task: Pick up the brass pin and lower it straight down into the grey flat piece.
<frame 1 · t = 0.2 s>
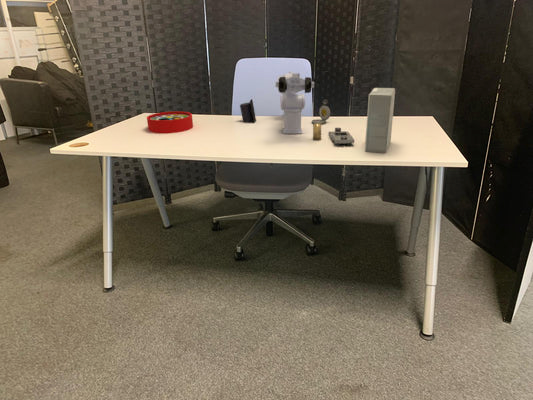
hand: (296, 87, 141), 21 cm above the table, tool horizontal, fingers open, 7 cm apart
hard drive box: (377, 147, 144), on the table
speaker: (248, 122, 188), on the table
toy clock: (171, 129, 179), on the table
grey flat piece: (340, 140, 153), on the table
brass pin: (316, 139, 155), on the table
pocket watch: (320, 123, 182), on the table
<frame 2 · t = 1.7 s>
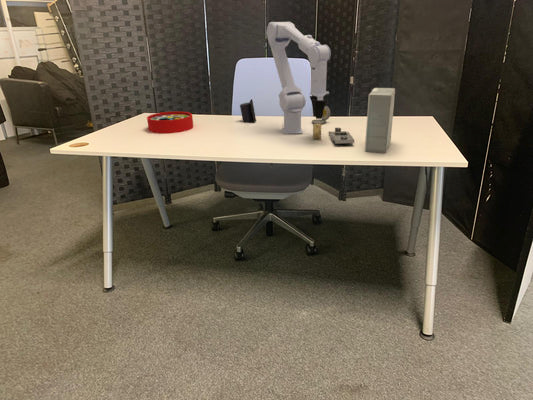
hand: (317, 116, 152), 9 cm above the table, tool pointing down, fingers open, 7 cm apart
nothing on the table moved.
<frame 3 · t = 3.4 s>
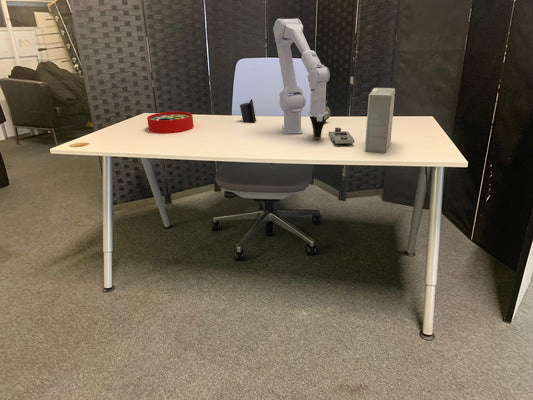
hand: (317, 135, 155), 1 cm above the table, tool pointing down, fingers closed on brass pin, 3 cm apart
brass pin: (316, 139, 155), on the table, touching gripper
everything else where it was.
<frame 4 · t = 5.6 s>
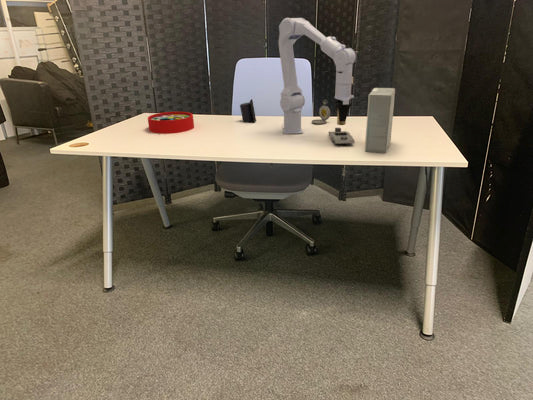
hand: (341, 120, 150), 8 cm above the table, tool pointing down, fingers closed on brass pin, 3 cm apart
brass pin: (341, 124, 151), point 6 cm above the table, touching gripper
everything else where it was.
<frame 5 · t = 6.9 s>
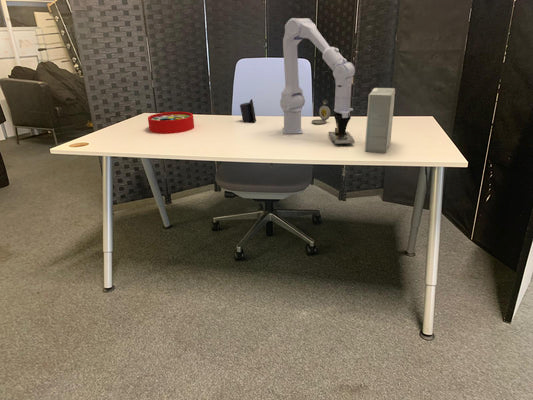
hand: (340, 132, 152), 3 cm above the table, tool pointing down, fingers closed on brass pin, 3 cm apart
brass pin: (340, 136, 153), point 1 cm above the table, touching gripper
everything else where it was.
when the fingers open (3 cm above the table, at t = 7.6 s): brass pin drops 1 cm, resting in grey flat piece.
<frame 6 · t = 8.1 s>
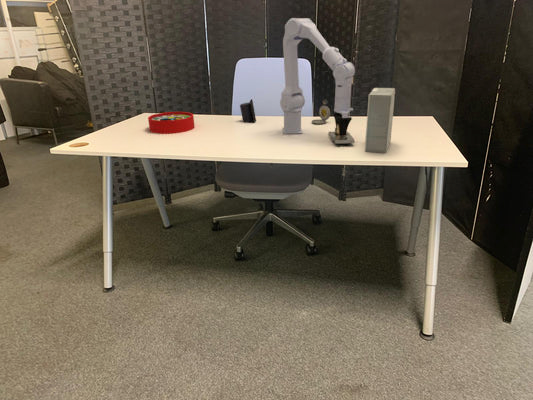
hand: (340, 132, 152), 3 cm above the table, tool pointing down, fingers open, 7 cm apart
brass pin: (340, 140, 153), resting in grey flat piece
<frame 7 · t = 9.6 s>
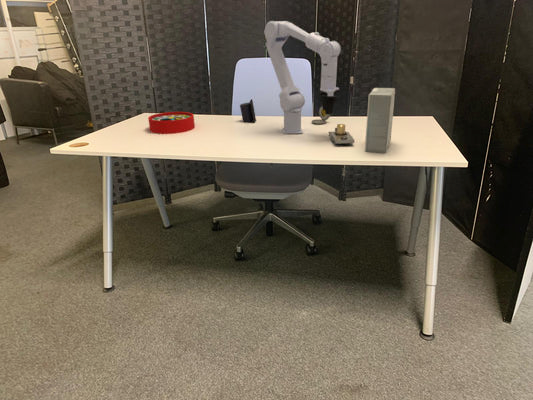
hand: (327, 112, 153), 10 cm above the table, tool pointing down, fingers open, 7 cm apart
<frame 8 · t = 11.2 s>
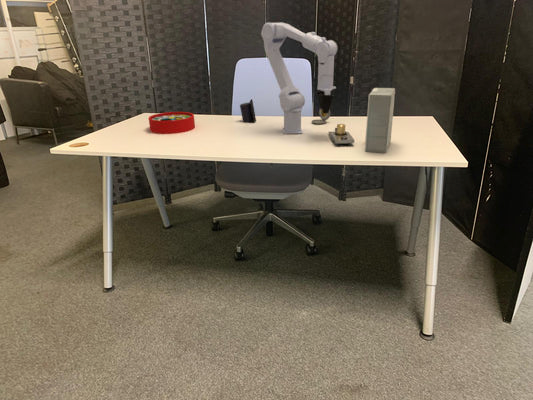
hand: (324, 111, 154), 10 cm above the table, tool pointing down, fingers open, 7 cm apart
at the end: brass pin 0.0 cm off-centre on the grey flat piece, point 0.0 cm above the grey flat piece's base; brass pin tilted 0°; the gripper is holding nothing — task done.
